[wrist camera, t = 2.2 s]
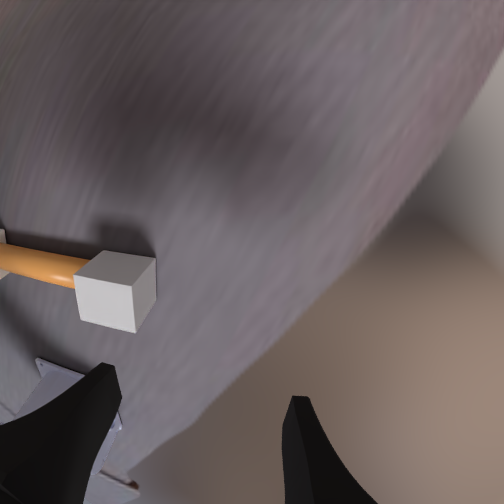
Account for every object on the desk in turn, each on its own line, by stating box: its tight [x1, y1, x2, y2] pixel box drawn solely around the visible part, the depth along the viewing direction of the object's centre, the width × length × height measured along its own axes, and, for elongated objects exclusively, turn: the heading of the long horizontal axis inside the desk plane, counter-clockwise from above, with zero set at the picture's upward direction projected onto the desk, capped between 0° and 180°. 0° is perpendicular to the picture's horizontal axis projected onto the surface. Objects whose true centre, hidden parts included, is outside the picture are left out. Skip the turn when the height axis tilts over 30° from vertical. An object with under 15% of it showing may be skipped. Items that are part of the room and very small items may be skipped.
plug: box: [0, 229, 156, 333], centre depth 17 cm, size 20×4×5 cm, turn 83°
